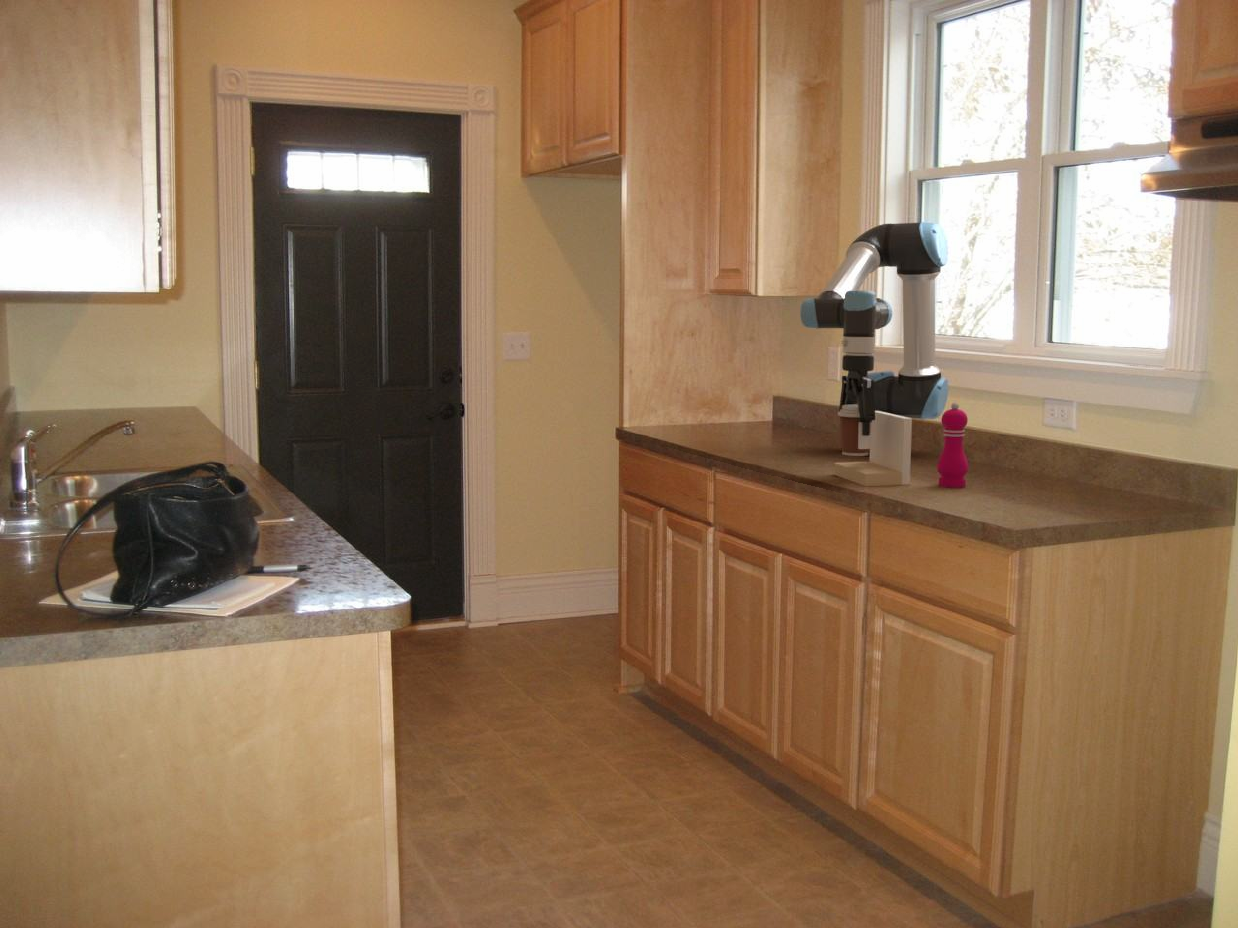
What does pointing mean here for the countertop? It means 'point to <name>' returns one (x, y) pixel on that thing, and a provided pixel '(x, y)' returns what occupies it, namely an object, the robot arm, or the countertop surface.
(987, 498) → the countertop surface
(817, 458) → the countertop surface
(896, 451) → the board
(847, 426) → the coffee cup
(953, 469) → the pepper mill
